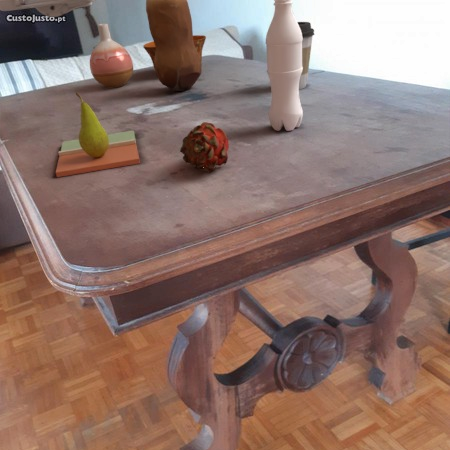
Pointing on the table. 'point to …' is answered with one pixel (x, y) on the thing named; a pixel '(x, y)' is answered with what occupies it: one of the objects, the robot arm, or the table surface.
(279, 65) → the water bottle
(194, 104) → the table surface
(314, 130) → the table surface
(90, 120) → the fruit
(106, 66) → the vase
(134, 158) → the sorting board
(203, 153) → the dragon fruit
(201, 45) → the bowl
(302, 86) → the coffee cup
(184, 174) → the table surface
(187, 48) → the butternut squash
